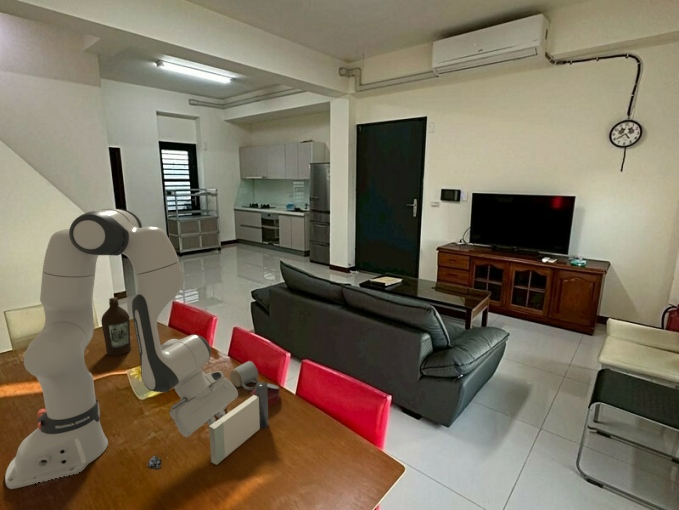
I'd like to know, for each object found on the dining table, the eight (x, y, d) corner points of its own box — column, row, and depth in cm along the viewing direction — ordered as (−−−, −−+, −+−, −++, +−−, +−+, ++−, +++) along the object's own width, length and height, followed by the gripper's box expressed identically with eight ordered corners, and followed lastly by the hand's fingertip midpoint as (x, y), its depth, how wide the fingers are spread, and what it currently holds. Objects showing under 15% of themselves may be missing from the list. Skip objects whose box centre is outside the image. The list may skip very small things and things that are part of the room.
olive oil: (102, 351, 165) (96, 298, 160) (128, 344, 172) (123, 293, 168) (108, 359, 158) (102, 304, 153) (135, 351, 165) (130, 298, 160)
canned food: (252, 408, 133) (246, 380, 135) (279, 399, 136) (273, 372, 139) (255, 411, 123) (249, 381, 125) (284, 402, 126) (278, 373, 128)
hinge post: (259, 430, 114) (257, 389, 111) (255, 424, 117) (253, 384, 114) (270, 426, 116) (269, 386, 113) (265, 420, 119) (264, 380, 116)
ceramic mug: (229, 384, 140) (228, 365, 138) (247, 375, 146) (246, 358, 144) (246, 395, 133) (245, 375, 132) (264, 385, 139) (263, 367, 138)
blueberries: (163, 452, 106) (163, 446, 106) (176, 463, 100) (175, 457, 100) (138, 465, 101) (138, 459, 101) (150, 478, 96) (149, 471, 95)
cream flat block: (254, 426, 115) (253, 394, 113) (259, 428, 114) (258, 396, 112) (211, 461, 100) (208, 426, 98) (216, 464, 99) (214, 428, 97)
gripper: (171, 403, 96) (202, 447, 94) (225, 368, 115) (252, 404, 113) (161, 414, 99) (191, 457, 97) (214, 378, 117) (241, 413, 115)
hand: (224, 428), depth 105 cm, fingers closed
